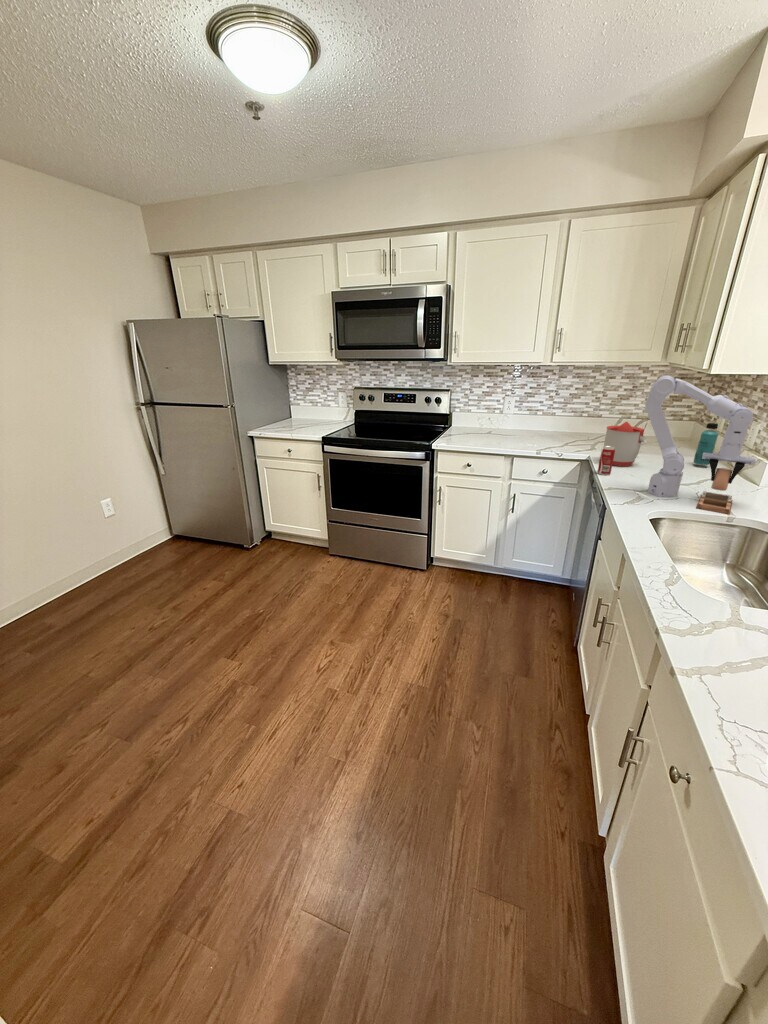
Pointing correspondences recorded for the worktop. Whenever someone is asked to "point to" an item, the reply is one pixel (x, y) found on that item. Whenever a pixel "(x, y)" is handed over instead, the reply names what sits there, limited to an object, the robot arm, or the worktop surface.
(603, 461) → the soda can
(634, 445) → the citrus juicer
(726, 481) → the tube
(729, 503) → the tray
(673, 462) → the robot arm
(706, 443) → the beverage bottle
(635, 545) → the worktop surface
